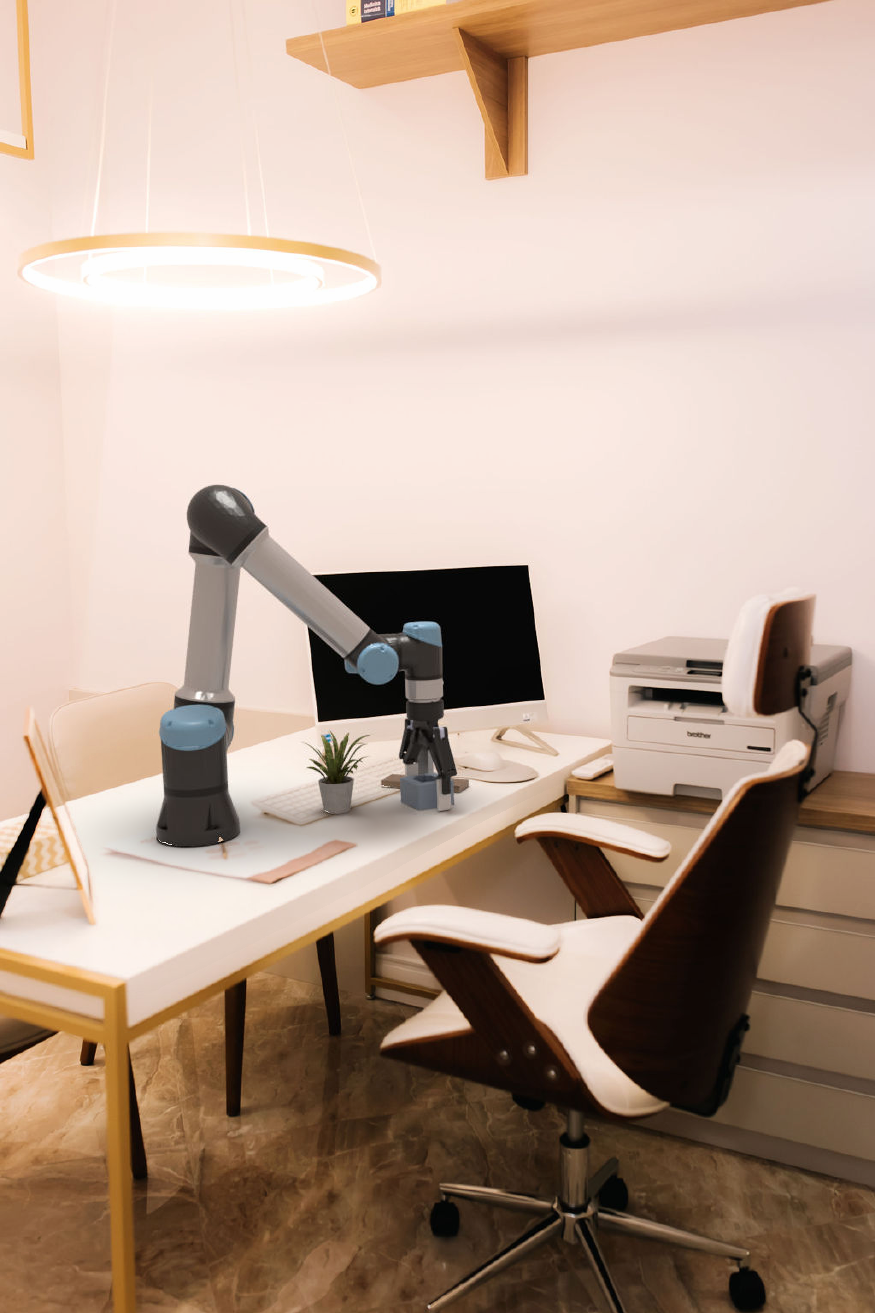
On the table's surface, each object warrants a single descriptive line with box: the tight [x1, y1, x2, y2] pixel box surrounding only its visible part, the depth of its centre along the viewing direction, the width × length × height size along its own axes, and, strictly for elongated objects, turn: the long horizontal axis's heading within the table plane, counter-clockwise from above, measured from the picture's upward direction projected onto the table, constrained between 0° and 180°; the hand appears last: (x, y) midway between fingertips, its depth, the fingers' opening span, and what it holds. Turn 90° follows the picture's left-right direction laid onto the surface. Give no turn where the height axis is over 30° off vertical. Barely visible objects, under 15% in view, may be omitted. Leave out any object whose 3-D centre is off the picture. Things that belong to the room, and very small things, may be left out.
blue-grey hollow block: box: [399, 772, 455, 811], centre depth 212 cm, size 8×8×5 cm
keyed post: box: [380, 746, 470, 794], centre depth 224 cm, size 6×18×14 cm, turn 69°
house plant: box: [302, 729, 371, 815], centre depth 207 cm, size 14×14×16 cm
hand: (428, 802), depth 212 cm, fingers open, 13 cm apart
